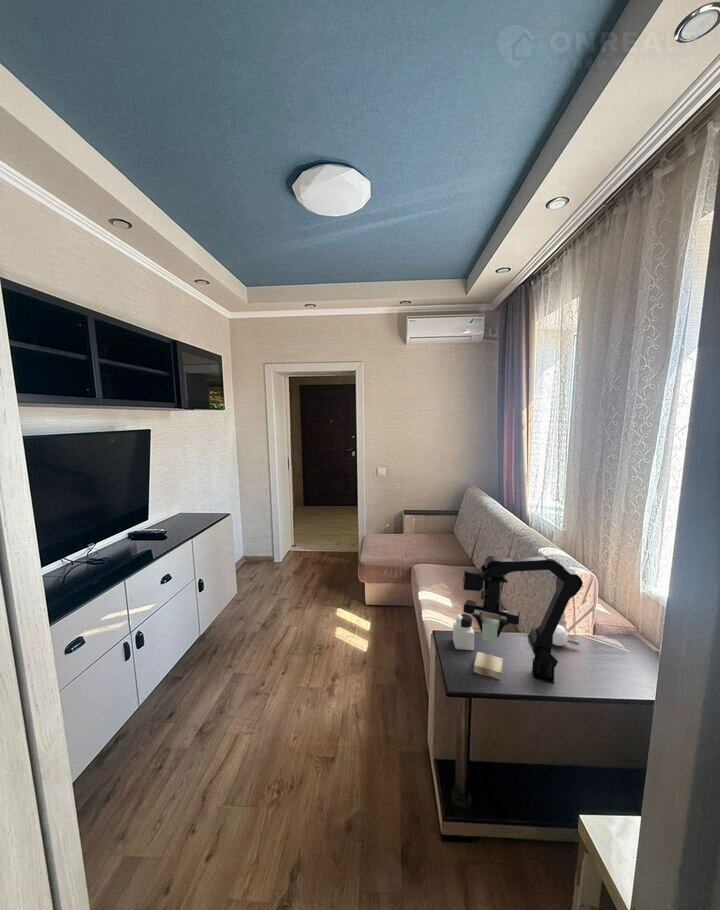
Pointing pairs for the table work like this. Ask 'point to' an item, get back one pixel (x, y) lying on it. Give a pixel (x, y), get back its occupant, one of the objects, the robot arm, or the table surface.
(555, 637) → the perfume bottle
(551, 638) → the robot arm
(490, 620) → the green block
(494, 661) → the oak slab
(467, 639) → the medicine bottle
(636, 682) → the table surface
